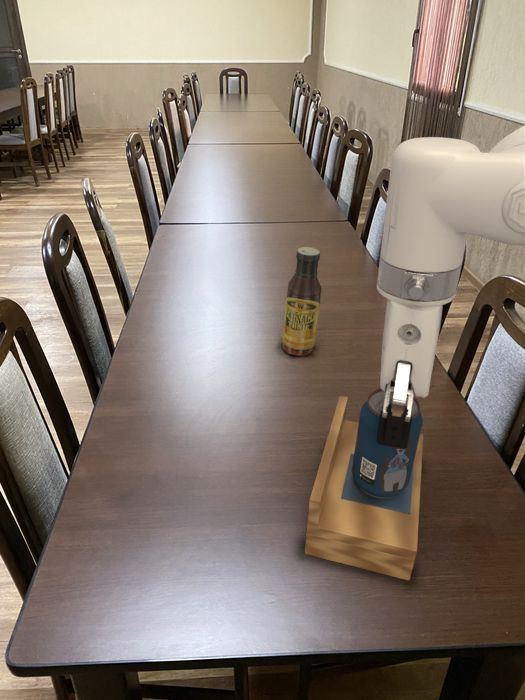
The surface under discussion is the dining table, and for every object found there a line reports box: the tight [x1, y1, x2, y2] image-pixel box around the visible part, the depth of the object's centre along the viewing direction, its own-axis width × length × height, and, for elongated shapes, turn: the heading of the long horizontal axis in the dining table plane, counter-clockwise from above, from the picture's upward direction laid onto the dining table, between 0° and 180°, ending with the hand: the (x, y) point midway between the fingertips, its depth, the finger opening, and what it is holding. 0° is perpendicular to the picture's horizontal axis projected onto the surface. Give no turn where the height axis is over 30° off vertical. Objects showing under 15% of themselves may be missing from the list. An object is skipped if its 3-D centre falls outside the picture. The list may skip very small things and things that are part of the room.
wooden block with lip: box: [304, 395, 424, 581], centre depth 67 cm, size 12×20×9 cm, turn 164°
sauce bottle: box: [281, 246, 323, 357], centre depth 97 cm, size 7×6×20 cm
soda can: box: [352, 388, 424, 498], centre depth 63 cm, size 7×7×12 cm
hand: (394, 417), depth 60 cm, fingers open, 9 cm apart
